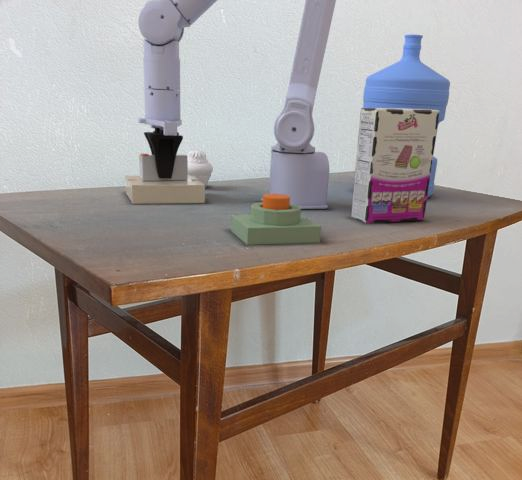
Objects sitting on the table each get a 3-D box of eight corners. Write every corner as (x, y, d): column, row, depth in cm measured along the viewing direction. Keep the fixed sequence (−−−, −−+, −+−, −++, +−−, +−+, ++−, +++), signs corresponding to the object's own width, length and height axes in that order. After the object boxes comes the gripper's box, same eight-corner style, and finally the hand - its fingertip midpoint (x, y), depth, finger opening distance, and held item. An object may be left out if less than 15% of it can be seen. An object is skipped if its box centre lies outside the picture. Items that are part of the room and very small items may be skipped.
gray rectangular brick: (184, 178, 103) (184, 152, 101) (187, 179, 102) (187, 154, 100) (139, 179, 99) (138, 153, 97) (142, 181, 98) (142, 154, 96)
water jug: (337, 191, 117) (353, 31, 105) (378, 184, 128) (396, 39, 116) (408, 203, 108) (434, 30, 96) (445, 195, 119) (472, 39, 107)
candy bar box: (405, 214, 98) (421, 108, 91) (424, 221, 94) (442, 110, 87) (347, 217, 94) (359, 106, 87) (365, 224, 90) (378, 107, 83)
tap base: (192, 191, 109) (192, 174, 107) (207, 204, 98) (207, 184, 97) (124, 192, 105) (123, 173, 104) (132, 205, 94) (131, 185, 93)
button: (283, 206, 80) (284, 193, 79) (293, 212, 77) (294, 198, 76) (258, 206, 79) (259, 193, 78) (267, 212, 76) (267, 198, 75)
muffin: (174, 187, 112) (173, 148, 109) (191, 183, 117) (191, 146, 114) (202, 191, 110) (202, 151, 107) (218, 187, 115) (219, 149, 112)
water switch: (298, 229, 84) (300, 200, 83) (319, 242, 78) (322, 212, 76) (230, 230, 82) (231, 201, 80) (247, 245, 75) (248, 213, 73)
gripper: (131, 87, 100) (134, 170, 105) (143, 89, 87) (146, 183, 93) (173, 89, 102) (173, 171, 107) (190, 91, 89) (190, 184, 95)
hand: (163, 177), depth 100 cm, fingers closed on gray rectangular brick, 2 cm apart
